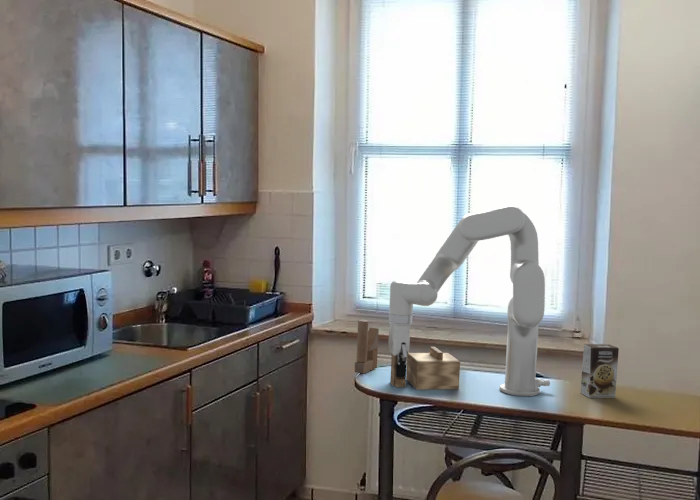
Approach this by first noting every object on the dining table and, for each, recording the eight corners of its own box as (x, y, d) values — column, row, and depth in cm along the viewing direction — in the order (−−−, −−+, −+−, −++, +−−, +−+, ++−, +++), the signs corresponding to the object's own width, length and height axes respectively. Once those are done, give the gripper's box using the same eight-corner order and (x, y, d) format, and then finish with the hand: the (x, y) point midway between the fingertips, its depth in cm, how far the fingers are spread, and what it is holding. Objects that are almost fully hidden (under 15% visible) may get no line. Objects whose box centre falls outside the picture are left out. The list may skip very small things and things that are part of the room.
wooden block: (377, 368, 269) (379, 317, 268) (363, 374, 260) (365, 321, 258) (368, 366, 271) (370, 316, 270) (353, 372, 262) (355, 320, 260)
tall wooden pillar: (402, 382, 250) (403, 346, 249) (405, 385, 246) (406, 349, 245) (390, 382, 249) (391, 346, 248) (393, 386, 245) (394, 349, 244)
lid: (447, 355, 256) (448, 346, 256) (458, 363, 245) (459, 353, 245) (408, 355, 253) (408, 346, 253) (417, 363, 242) (417, 353, 242)
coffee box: (589, 398, 239) (592, 347, 238) (579, 392, 245) (582, 343, 244) (616, 398, 241) (619, 347, 239) (606, 392, 247) (609, 343, 246)
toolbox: (446, 378, 257) (447, 352, 257) (458, 388, 245) (460, 361, 244) (388, 379, 254) (389, 353, 253) (398, 389, 241) (399, 361, 240)
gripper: (383, 314, 254) (381, 368, 255) (395, 323, 237) (393, 381, 238) (405, 314, 255) (402, 367, 256) (419, 323, 238) (416, 380, 240)
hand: (398, 373), depth 247 cm, fingers open, 5 cm apart
